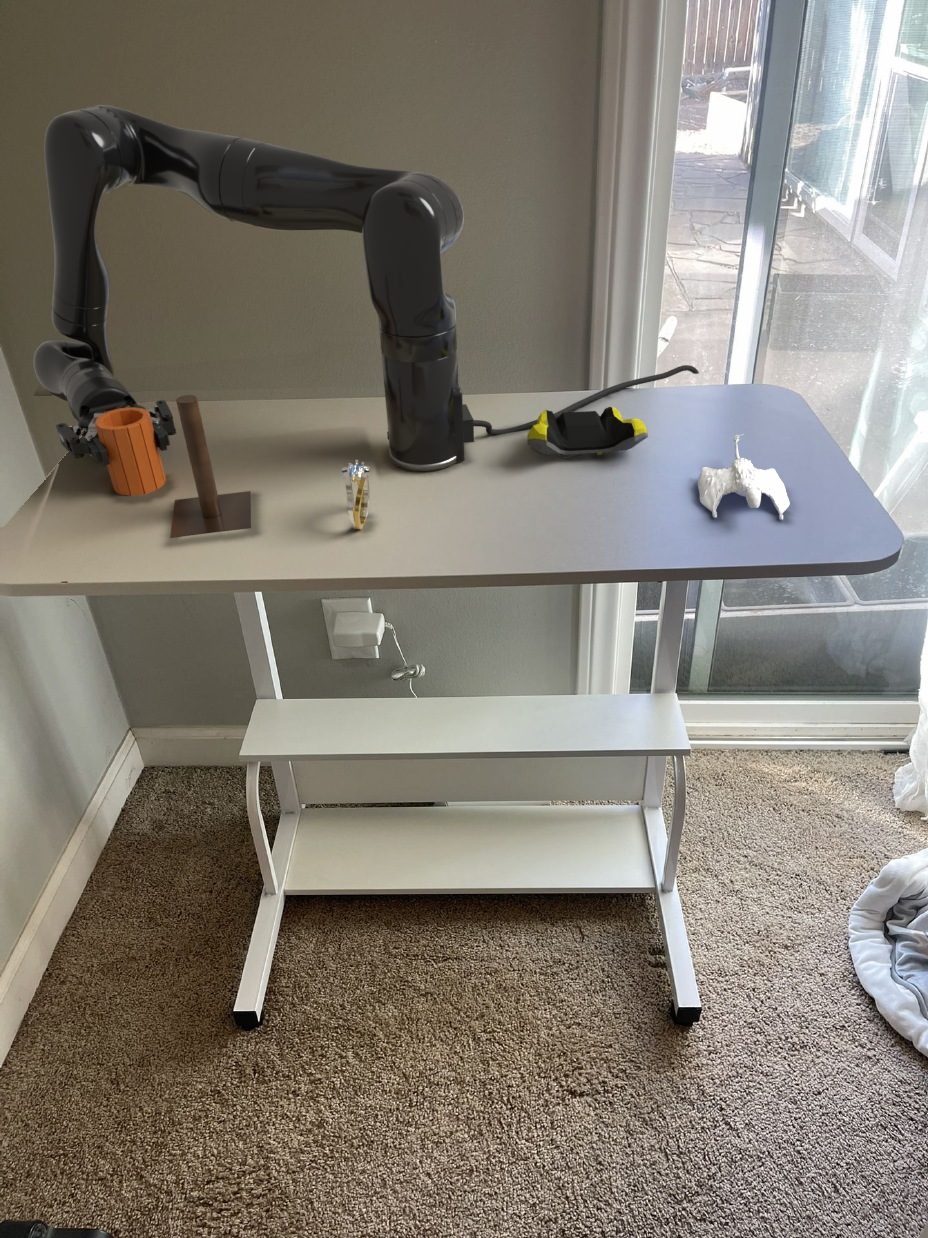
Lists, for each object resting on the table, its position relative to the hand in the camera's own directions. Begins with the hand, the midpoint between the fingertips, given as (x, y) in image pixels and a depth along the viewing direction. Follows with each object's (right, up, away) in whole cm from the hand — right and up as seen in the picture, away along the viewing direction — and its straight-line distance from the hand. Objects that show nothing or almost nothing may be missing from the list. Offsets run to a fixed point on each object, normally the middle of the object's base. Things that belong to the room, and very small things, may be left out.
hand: (134, 450), depth 110 cm
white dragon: (+72, -5, 0) cm, 72 cm away
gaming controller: (+55, +1, +10) cm, 56 cm away
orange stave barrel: (-1, -4, +5) cm, 7 cm away
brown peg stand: (+10, -8, -1) cm, 13 cm away
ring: (+28, -10, -4) cm, 30 cm away
